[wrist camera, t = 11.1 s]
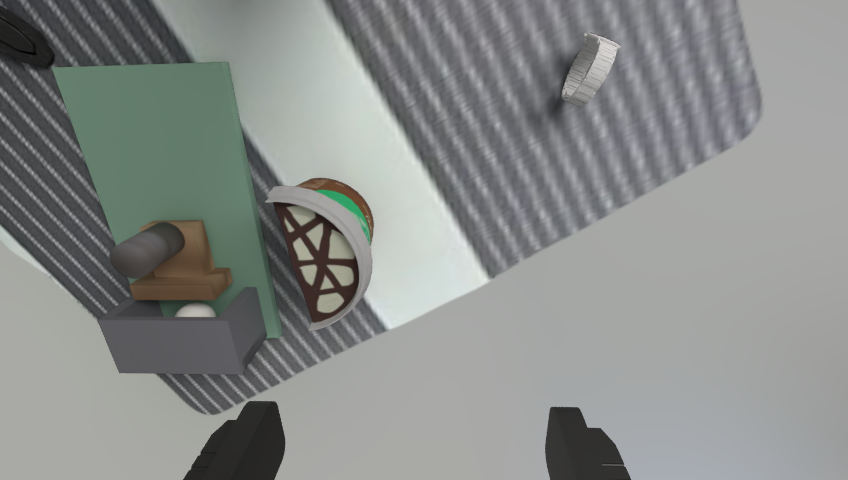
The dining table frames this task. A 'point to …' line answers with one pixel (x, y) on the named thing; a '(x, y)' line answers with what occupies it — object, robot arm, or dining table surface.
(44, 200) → the dining table surface
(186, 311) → the ball
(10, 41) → the hairbrush
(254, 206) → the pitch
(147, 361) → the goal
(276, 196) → the food container
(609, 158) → the dining table surface
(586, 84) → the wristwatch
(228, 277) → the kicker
